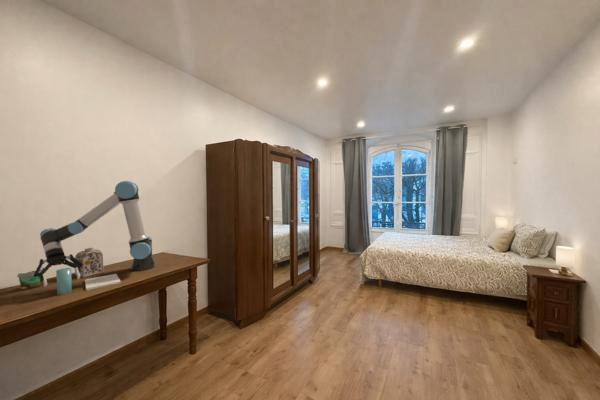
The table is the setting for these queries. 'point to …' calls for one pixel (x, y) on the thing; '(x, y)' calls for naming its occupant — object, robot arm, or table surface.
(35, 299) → the table surface
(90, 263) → the decorative jar
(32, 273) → the food container
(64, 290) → the teal canister
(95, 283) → the pale board
